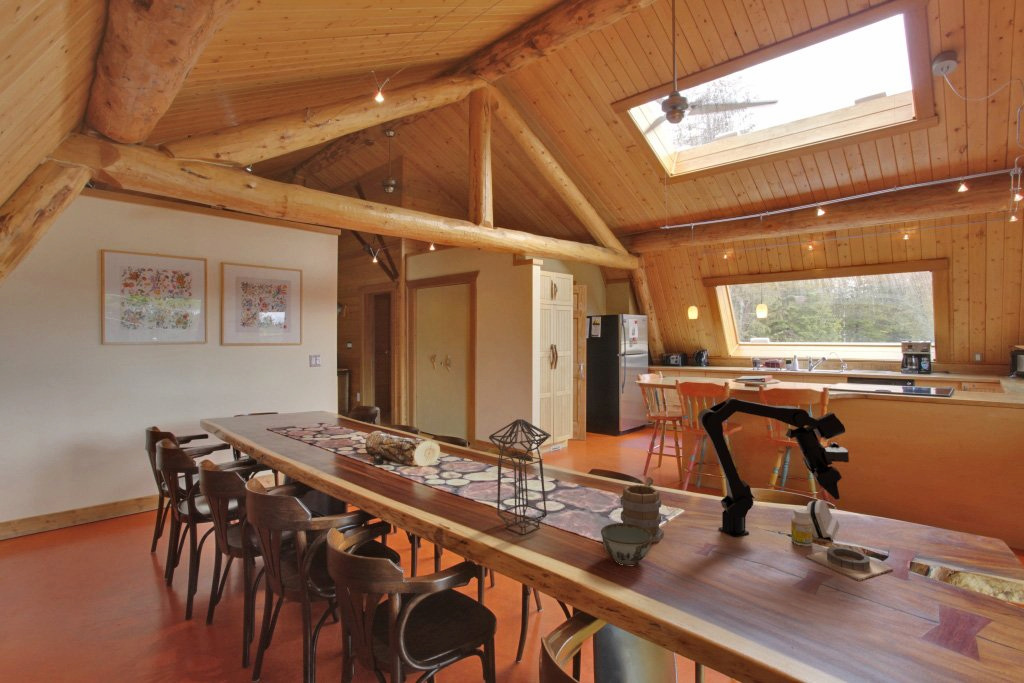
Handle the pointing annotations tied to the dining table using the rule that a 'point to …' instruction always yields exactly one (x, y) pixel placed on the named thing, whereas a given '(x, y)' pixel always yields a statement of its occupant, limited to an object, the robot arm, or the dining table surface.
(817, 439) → the robot arm
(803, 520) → the supplement bottle
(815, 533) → the grey piece
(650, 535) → the bowl
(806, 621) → the dining table surface
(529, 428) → the geometric lantern
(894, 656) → the dining table surface
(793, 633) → the dining table surface
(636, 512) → the tankard
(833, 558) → the ring holder
